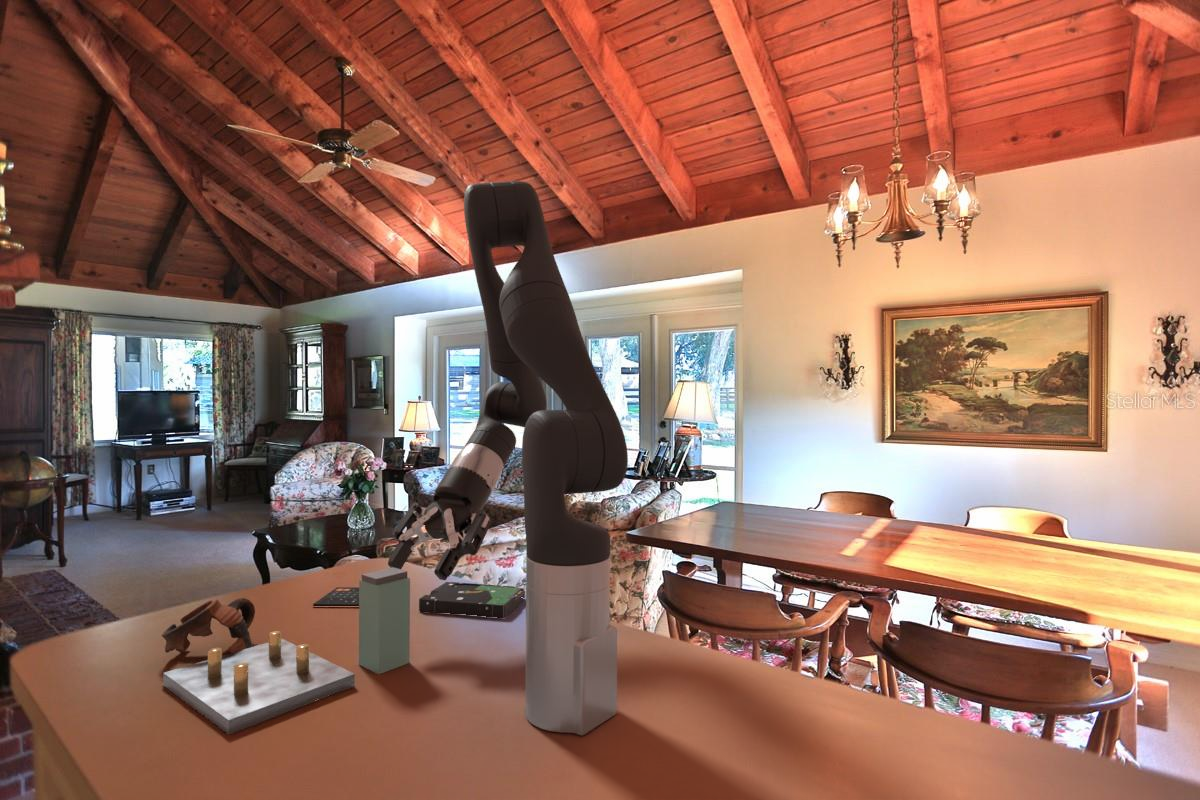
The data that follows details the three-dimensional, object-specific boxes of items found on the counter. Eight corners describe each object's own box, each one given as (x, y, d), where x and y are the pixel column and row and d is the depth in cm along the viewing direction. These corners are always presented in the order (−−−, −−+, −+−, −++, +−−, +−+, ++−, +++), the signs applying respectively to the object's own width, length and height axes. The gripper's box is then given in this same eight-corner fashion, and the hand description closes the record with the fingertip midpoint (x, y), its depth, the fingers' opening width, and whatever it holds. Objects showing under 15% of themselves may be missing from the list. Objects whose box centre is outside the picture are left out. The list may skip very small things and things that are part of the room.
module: (409, 662, 83) (410, 572, 83) (378, 674, 79) (379, 579, 79) (389, 654, 85) (390, 566, 85) (358, 665, 82) (359, 573, 82)
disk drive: (417, 616, 102) (505, 622, 99) (417, 599, 102) (505, 604, 99) (445, 597, 112) (525, 601, 109) (445, 581, 112) (525, 585, 109)
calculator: (337, 592, 114) (337, 575, 114) (401, 592, 114) (401, 575, 114) (313, 609, 104) (313, 590, 104) (383, 609, 104) (383, 591, 104)
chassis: (354, 686, 76) (354, 648, 76) (228, 734, 64) (228, 690, 64) (281, 649, 87) (281, 616, 87) (163, 685, 75) (163, 647, 76)
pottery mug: (228, 675, 80) (190, 622, 78) (174, 700, 82) (136, 649, 80) (286, 619, 91) (253, 572, 90) (237, 642, 93) (205, 596, 92)
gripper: (423, 462, 98) (363, 551, 88) (497, 467, 92) (442, 564, 81) (446, 492, 103) (392, 580, 93) (518, 499, 96) (468, 594, 86)
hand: (415, 572), depth 87 cm, fingers open, 8 cm apart
